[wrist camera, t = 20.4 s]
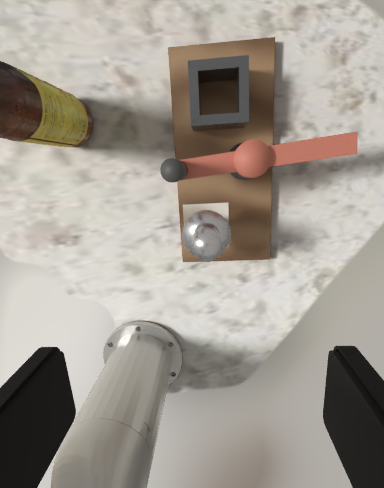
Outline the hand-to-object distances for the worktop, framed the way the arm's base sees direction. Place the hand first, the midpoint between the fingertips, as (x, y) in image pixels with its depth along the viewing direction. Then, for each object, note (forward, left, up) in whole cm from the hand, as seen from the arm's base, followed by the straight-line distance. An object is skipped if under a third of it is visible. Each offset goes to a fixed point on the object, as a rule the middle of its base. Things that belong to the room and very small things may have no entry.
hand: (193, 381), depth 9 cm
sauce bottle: (+14, +17, -28) cm, 36 cm away
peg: (0, 0, -27) cm, 27 cm away
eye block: (+15, -2, -28) cm, 32 cm away
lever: (+8, -6, -22) cm, 24 cm away
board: (+8, -2, -28) cm, 30 cm away
